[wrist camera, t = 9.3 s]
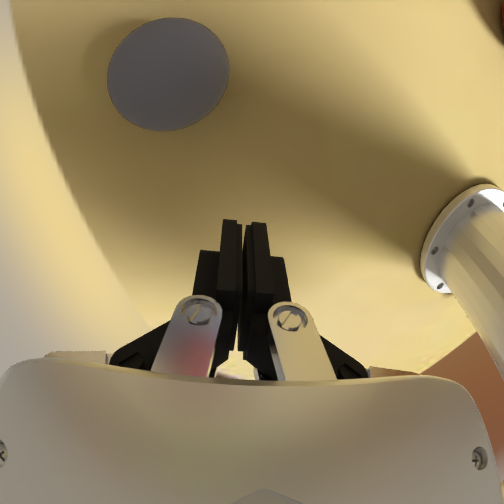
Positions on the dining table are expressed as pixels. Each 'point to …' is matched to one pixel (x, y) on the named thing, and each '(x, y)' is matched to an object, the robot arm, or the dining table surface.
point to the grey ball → (168, 74)
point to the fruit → (503, 15)
